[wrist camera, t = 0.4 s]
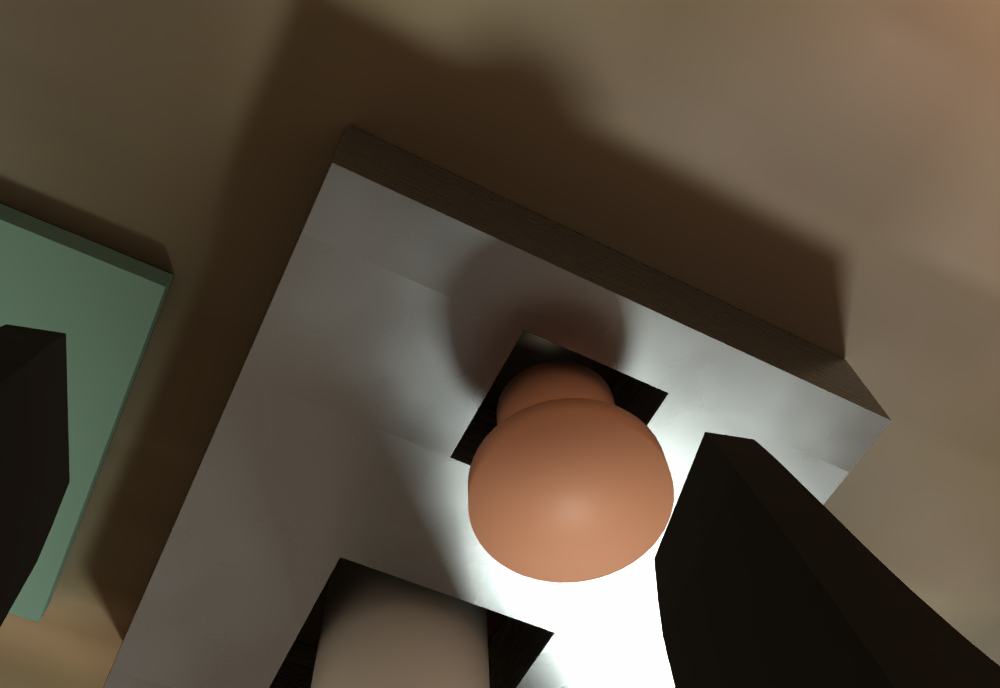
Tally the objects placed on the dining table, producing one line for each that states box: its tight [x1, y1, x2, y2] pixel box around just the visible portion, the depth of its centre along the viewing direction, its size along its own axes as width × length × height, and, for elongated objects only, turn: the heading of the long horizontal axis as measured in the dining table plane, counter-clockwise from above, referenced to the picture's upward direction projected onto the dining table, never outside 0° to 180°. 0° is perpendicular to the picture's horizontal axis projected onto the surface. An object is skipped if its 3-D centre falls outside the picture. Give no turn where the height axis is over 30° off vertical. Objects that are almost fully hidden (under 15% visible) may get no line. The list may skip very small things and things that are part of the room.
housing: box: [103, 124, 891, 688], centre depth 21 cm, size 15×12×2 cm
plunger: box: [468, 361, 674, 583], centre depth 18 cm, size 4×4×3 cm
